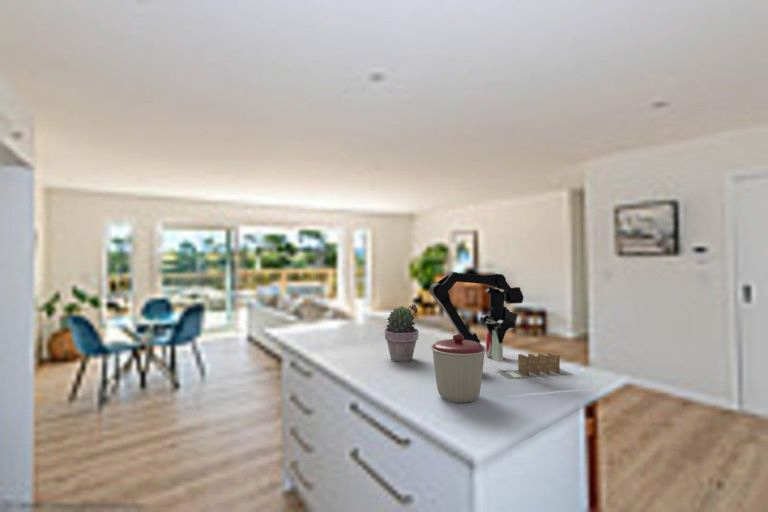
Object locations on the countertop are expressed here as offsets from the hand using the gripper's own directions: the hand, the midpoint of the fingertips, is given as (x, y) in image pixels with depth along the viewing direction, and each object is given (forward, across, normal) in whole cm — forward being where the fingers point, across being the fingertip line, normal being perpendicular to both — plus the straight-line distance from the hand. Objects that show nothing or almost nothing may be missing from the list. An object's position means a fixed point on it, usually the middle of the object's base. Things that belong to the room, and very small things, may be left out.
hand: (497, 341), depth 153 cm
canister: (+12, -25, +28) cm, 39 cm away
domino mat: (+12, -8, -11) cm, 18 cm away
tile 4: (+11, -8, -16) cm, 21 cm away
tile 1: (+8, 0, 0) cm, 8 cm away
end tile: (+11, -8, -20) cm, 25 cm away
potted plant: (+12, +25, +35) cm, 45 cm away
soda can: (+12, +19, -9) cm, 24 cm away
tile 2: (+11, -8, -7) cm, 15 cm away
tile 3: (+11, -8, -11) cm, 18 cm away
